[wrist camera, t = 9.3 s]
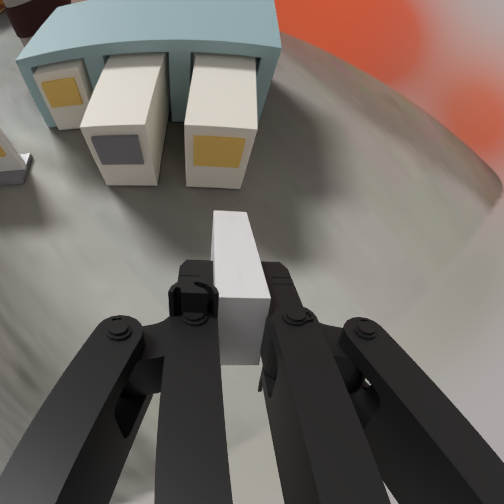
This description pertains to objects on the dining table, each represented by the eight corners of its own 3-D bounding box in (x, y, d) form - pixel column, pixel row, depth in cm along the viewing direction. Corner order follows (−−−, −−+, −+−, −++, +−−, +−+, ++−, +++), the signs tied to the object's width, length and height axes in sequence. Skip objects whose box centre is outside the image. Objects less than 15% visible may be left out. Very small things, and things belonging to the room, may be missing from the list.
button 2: (186, 189, 24) (183, 127, 17) (196, 99, 27) (199, 36, 20) (240, 191, 25) (257, 132, 18) (241, 102, 28) (254, 40, 21)
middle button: (106, 187, 23) (78, 130, 16) (129, 99, 26) (118, 38, 19) (156, 188, 24) (144, 127, 17) (172, 98, 27) (170, 36, 20)
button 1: (58, 132, 24) (31, 77, 17) (87, 65, 27) (75, 14, 20) (97, 129, 25) (76, 69, 17) (122, 62, 28) (114, 8, 20)
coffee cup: (83, 45, 28) (65, -49, 14) (16, 74, 26) (-18, -10, 11) (81, 17, 30) (69, -61, 16) (23, 41, 28) (0, -32, 13)
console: (48, 127, 24) (15, 60, 15) (75, 70, 27) (57, 7, 18) (257, 126, 27) (281, 47, 18) (255, 68, 30) (273, -1, 21)
